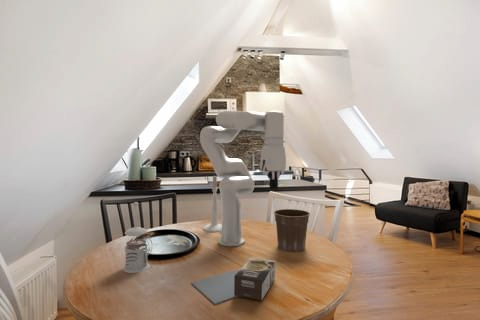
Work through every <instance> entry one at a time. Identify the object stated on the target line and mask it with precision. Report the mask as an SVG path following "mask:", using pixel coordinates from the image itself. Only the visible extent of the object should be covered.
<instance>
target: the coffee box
mask: <svg viewBox="0 0 480 320" xmlns="http://www.w3.org/2000/svg"><path fill="white" fill-rule="evenodd" d="M238 270H239V271H238V272H237V274H236V275H235V276H234V295H237V296H239V297H243V298H245V299H246V298H247V299H252V300H257V301H263V299H264V297H265V296H266V294H267V292H268V291H269V289H270V287H271V286H272V284H273V283H274V281H275V279H276V261H275V260H269V259H264V258H260V257H259V258H258V257H250V258H249V259H248V260H247V262H246V263H244V265H243V266H242V267H241V268H240V269H238Z"/></svg>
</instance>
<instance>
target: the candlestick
mask: <svg viewBox="0 0 480 320" xmlns="http://www.w3.org/2000/svg"><path fill="white" fill-rule="evenodd" d="M217 178H218V176H217V175H213V176H212V187H211V190H212V192H213V194H212V205H211V206H212V208H211V211H212V212H211V223H208V224H205V225H204V227H203V231H204V230H205V231H204V232H207V231H208V233H220V232H221V231H222V223H219V217H218V216H219V215H218V199H217V198H218V197H217V196H218V194H217V192H218V189H219V188H218V187H217Z"/></svg>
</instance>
